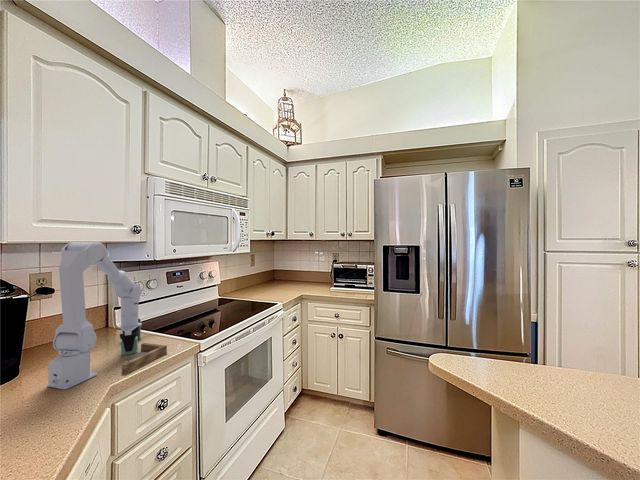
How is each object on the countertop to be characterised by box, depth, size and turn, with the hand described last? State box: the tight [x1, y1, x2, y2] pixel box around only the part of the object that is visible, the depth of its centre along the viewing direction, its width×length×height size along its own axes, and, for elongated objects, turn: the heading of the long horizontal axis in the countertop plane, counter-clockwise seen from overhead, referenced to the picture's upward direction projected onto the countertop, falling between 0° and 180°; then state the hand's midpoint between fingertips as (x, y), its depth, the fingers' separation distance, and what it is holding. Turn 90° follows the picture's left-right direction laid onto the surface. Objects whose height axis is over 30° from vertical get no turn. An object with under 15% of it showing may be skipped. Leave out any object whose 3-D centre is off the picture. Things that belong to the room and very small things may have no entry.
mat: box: [124, 351, 147, 361], centre depth 106 cm, size 7×7×1 cm
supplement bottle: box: [121, 317, 142, 341], centre depth 124 cm, size 7×7×12 cm
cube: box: [120, 336, 139, 356], centre depth 111 cm, size 5×5×5 cm
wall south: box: [121, 347, 165, 375], centre depth 101 cm, size 16×2×3 cm, turn 165°
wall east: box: [140, 342, 168, 355], centre depth 111 cm, size 2×11×3 cm, turn 75°
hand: (129, 347), depth 111 cm, fingers open, 7 cm apart
